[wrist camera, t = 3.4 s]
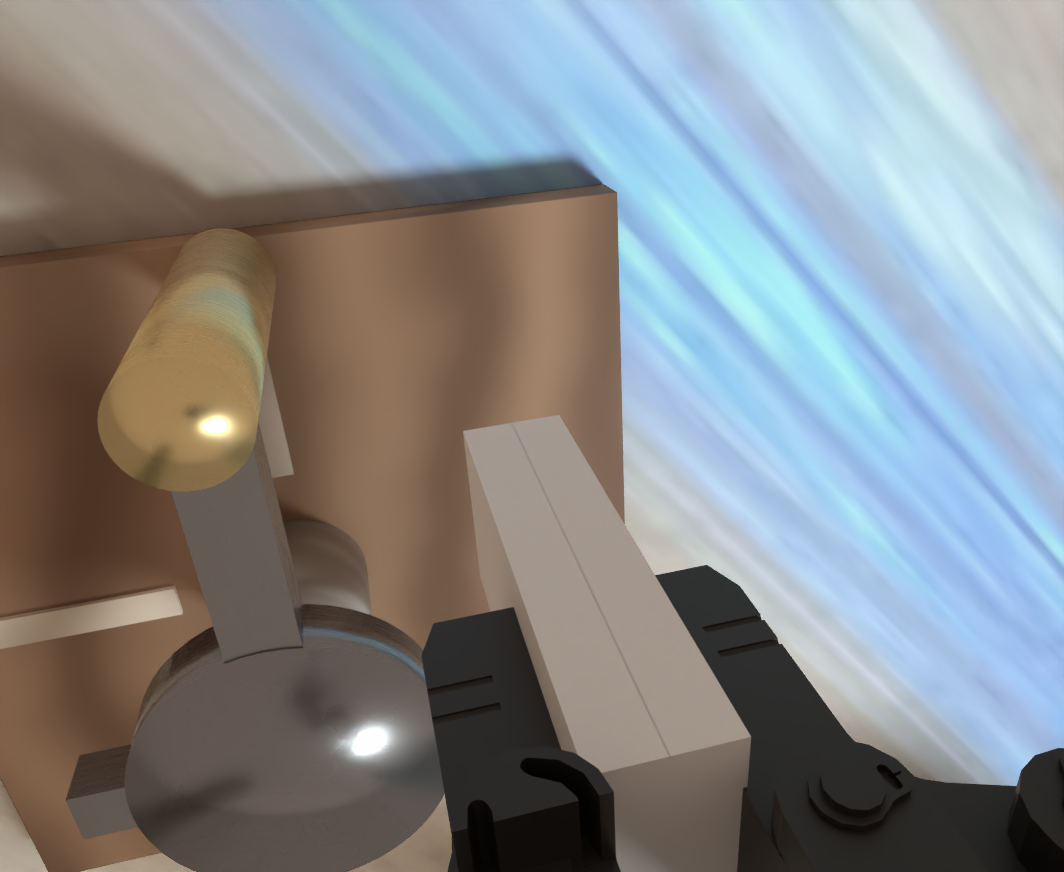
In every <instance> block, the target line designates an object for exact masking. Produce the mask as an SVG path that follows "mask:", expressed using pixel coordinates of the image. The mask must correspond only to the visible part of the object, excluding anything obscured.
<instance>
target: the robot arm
mask: <svg viewBox="0 0 1064 872" xmlns="http://www.w3.org/2000/svg"><path fill="white" fill-rule="evenodd" d="M463 436H464V444H465V452H466V461H467V469H468V478H469V486H470V494H471V503H472V511H473V519H474V528H475V536H476V545H477V553H478V561H479V570H480V577H481V581H482V584H483V587H484V591H485V594H486V597H487V601H488V604H489V608H490V611H491V612H486V613H481V614H477V615H472V616H467V617H462V618H457V619H452V620H447V621H442V622H437V623H433V626H432V628H431V631H430V634H429V636H428V639H427V642H426V644H425V647H424V650H423V652H422V655H421V657H422V663H423V669H424V675H425V680H426V686H427V692H428V698H429V704H430V710H431V716H432V722H433V728H434V734H435V740H436V746H437V751H438V757H439V763H440V769H441V775H442V781H443V786H444V792H445V798H446V804H447V810H448V816H449V821H450V827H451V833H452V855H451V860H450V864H449V868H448V872H1064V748H1057V749H1054V750H1051V751H1048V752H1044V753H1041V754H1038V755H1035V756H1034V757H1033V758H1032V759H1031V760H1030V762H1029V763H1028V764H1027V765H1026V766H1025V767H1024V768H1023V769H1022V770H1021V773H1020V777H1019V780H1018V784H1017V786H1000V785H980V784H961V783H945V782H938V781H931V780H924V779H920V778H917V777H914V776H913V775H912V774H911V773H910V772H909V771H908V770H907V769H906V768H905V767H904V766H903V765H902V764H901V763H900V762H899V761H897V760H896V759H895V758H893V757H891V756H889V755H887V754H885V753H883V752H881V751H879V750H878V749H876V748H874V747H872V746H870V745H866V744H862V743H857V742H855V741H854V740H853V739H852V738H851V737H850V736H849V735H848V734H847V733H846V731H845V730H844V729H843V727H842V726H841V725H840V723H839V722H838V720H837V719H836V718H835V716H834V715H833V714H832V712H831V711H830V709H829V708H828V707H827V705H826V704H825V703H824V701H823V700H822V698H821V697H820V696H819V694H818V693H817V692H816V690H815V689H814V687H813V686H812V685H811V683H810V682H809V681H808V679H807V678H806V676H805V675H804V674H803V672H802V671H801V670H800V668H799V667H798V665H797V664H796V663H795V661H794V660H793V659H792V657H791V656H790V654H789V653H788V652H787V650H786V649H785V648H784V646H783V645H782V644H779V643H778V640H777V637H776V635H775V634H774V633H773V631H772V630H771V628H770V627H769V626H768V624H767V623H766V622H765V620H761V617H760V613H759V612H758V611H757V609H756V608H755V606H754V605H753V604H752V602H751V601H750V600H749V598H748V597H747V595H746V594H745V593H744V591H743V590H742V589H741V587H740V586H739V585H737V584H736V583H734V582H732V581H731V580H729V579H728V578H726V577H725V576H723V575H722V574H720V573H719V572H717V571H715V570H714V569H712V568H711V567H709V566H708V565H704V566H699V567H694V568H690V569H685V570H680V571H675V572H670V573H665V574H660V575H654V573H653V571H652V570H651V568H650V566H649V565H648V563H647V561H646V560H645V558H644V556H643V555H642V553H641V551H640V550H639V548H638V546H637V545H636V543H635V541H634V539H633V538H632V536H631V534H630V533H629V531H628V529H627V528H626V526H625V524H624V523H623V521H622V519H621V518H620V516H619V514H618V513H617V511H616V509H615V508H614V506H613V504H612V503H611V501H610V499H609V498H608V496H607V494H606V493H605V491H604V489H603V487H602V486H601V484H600V482H599V481H598V479H597V477H596V476H595V474H594V472H593V471H592V469H591V467H590V466H589V464H588V462H587V461H586V459H585V457H584V456H583V454H582V452H581V451H580V449H579V447H578V446H577V444H576V442H575V441H574V439H573V437H572V435H571V434H570V432H569V430H568V429H567V427H566V425H565V424H564V422H563V420H562V419H561V417H560V415H556V416H550V417H544V418H538V419H532V420H526V421H520V422H514V423H508V424H502V425H496V426H490V427H484V428H478V429H472V430H466V431H463Z"/></svg>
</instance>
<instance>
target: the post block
mask: <svg viewBox="0 0 1064 872" xmlns="http://www.w3.org/2000/svg"><path fill="white" fill-rule="evenodd" d="M233 230H237V231H240V232H243V233H245V234H247V235H249V236H251V237H252V238H254V239H255V240H257V241H258V242H259V243H260V244H261V245H262V246H263V247H264V248H265V249H266V251H267V252H268V253H269V255H270V257H271V259H272V261H273V263H274V266H275V270H276V289H275V296H274V304H273V312H272V319H271V327H270V334H269V342H268V350H267V357H266V365H265V373H264V380H263V388H262V396H261V403H260V411H259V419H258V421H259V425H260V429H261V434H262V438H263V442H264V446H265V450H266V454H267V458H268V462H269V466H270V470H271V475H272V479H273V483H274V487H275V491H276V495H277V499H278V503H279V507H280V511H281V516H282V520H283V524H284V528H285V532H286V536H287V540H288V544H289V548H290V552H291V557H292V561H293V565H294V569H295V573H296V577H297V581H298V585H299V589H300V593H301V598H302V602H303V604H317V605H331V606H337V607H343V608H348V609H353V610H356V611H360V612H363V613H366V614H370V615H372V616H374V617H377V618H379V619H381V620H384V621H386V622H388V623H390V624H391V625H393V626H395V627H396V628H398V629H400V630H402V631H403V632H404V633H406V634H407V635H408V636H409V637H411V638H412V639H413V640H414V641H416V643H417V644H418V645H419V646H420V647H421V648H422V649H423V650H424V647H425V644H426V642H427V639H428V636H429V634H430V631H431V628H432V626H433V623H437V622H442V621H447V620H452V619H457V618H462V617H467V616H472V615H477V614H481V613H486V612H491V611H490V608H489V604H488V601H487V597H486V594H485V591H484V587H483V584H482V581H481V577H480V570H479V561H478V553H477V545H476V536H475V528H474V519H473V511H472V503H471V494H470V486H469V478H468V469H467V461H466V452H465V444H464V436H463V431H466V430H472V429H478V428H484V427H490V426H496V425H502V424H508V423H514V422H520V421H526V420H532V419H538V418H544V417H550V416H556V415H560V417H561V419H562V420H563V422H564V424H565V425H566V427H567V429H568V430H569V432H570V434H571V435H572V437H573V439H574V441H575V442H576V444H577V446H578V447H579V449H580V451H581V452H582V454H583V456H584V457H585V459H586V461H587V462H588V464H589V466H590V467H591V469H592V471H593V472H594V474H595V476H596V477H597V479H598V481H599V482H600V484H601V486H602V487H603V489H604V491H605V493H606V494H607V496H608V498H609V499H610V501H611V503H612V504H613V506H614V508H615V509H616V511H617V513H618V514H619V516H620V518H621V519H622V521H623V523H624V524H625V522H624V478H623V435H622V391H621V347H620V303H619V260H618V216H617V192H615V191H614V190H612V189H610V188H609V187H607V186H606V185H604V184H603V185H595V186H586V187H578V188H570V189H561V190H553V191H544V192H536V193H528V194H519V195H511V196H503V197H494V198H486V199H478V200H469V201H461V202H453V203H444V204H436V205H427V206H419V207H411V208H402V209H394V210H386V211H377V212H369V213H361V214H352V215H344V216H336V217H327V218H319V219H310V220H302V221H294V222H285V223H277V224H269V225H260V226H252V227H244V228H235V229H233ZM197 234H199V233H193V234H185V235H177V236H168V237H160V238H152V239H143V240H135V241H127V242H118V243H110V244H102V245H93V246H85V247H76V248H68V249H60V250H51V251H43V252H35V253H26V254H18V255H10V256H1V257H0V778H1V780H2V782H3V784H4V786H5V788H6V790H7V792H8V794H9V796H10V798H11V799H12V801H13V803H14V805H15V807H16V809H17V811H18V813H19V815H20V817H21V819H22V821H23V823H24V825H25V827H26V829H27V831H28V833H29V835H30V837H31V839H32V841H33V842H34V844H35V846H36V848H37V850H38V852H39V854H40V856H41V858H42V860H43V862H44V864H45V866H46V868H47V870H48V872H80V871H84V870H88V869H93V868H97V867H101V866H106V865H110V864H114V863H118V862H123V861H127V860H131V859H135V858H140V857H144V856H148V855H153V854H157V853H161V851H159V850H158V849H157V848H156V847H155V846H154V845H153V844H152V843H151V842H150V841H149V840H148V839H147V838H146V837H145V835H144V834H143V833H142V832H141V830H140V829H139V828H133V829H129V830H124V831H120V832H116V833H111V834H107V835H103V836H98V837H94V838H89V839H85V840H84V839H83V837H82V835H81V833H80V830H79V828H78V826H77V824H76V822H75V820H74V818H73V816H72V813H71V811H70V809H69V807H68V805H67V803H66V801H65V800H66V797H67V794H68V790H69V787H70V784H71V781H72V778H73V774H74V771H75V768H76V765H77V761H78V758H79V755H83V754H88V753H92V752H97V751H102V750H106V749H111V748H116V747H121V746H125V745H130V744H131V743H132V739H133V735H134V731H135V727H136V723H137V719H138V715H139V711H140V707H141V704H142V700H143V697H144V695H145V693H146V690H147V688H148V686H149V684H150V682H151V681H152V679H153V678H154V676H155V675H156V673H157V672H158V670H159V669H160V667H161V666H162V665H163V664H164V663H165V662H166V661H167V660H168V659H169V658H170V657H171V655H172V654H173V653H174V652H176V651H177V650H178V649H179V648H180V647H182V646H183V645H184V644H185V643H187V642H188V641H189V640H191V639H192V638H194V637H195V636H197V635H198V634H200V633H202V632H203V631H205V630H206V629H208V628H210V627H212V626H213V625H212V621H211V618H210V615H209V612H208V608H207V605H206V602H205V599H204V596H203V592H202V589H201V586H200V583H199V579H198V576H197V573H196V570H195V567H194V563H193V560H192V557H191V554H190V550H189V547H188V544H187V541H186V537H185V534H184V531H183V528H182V525H181V521H180V518H179V515H178V512H177V508H176V505H175V502H174V499H173V496H172V492H171V491H168V490H163V489H158V488H155V487H152V486H149V485H146V484H144V483H142V482H140V481H138V480H136V479H134V478H133V477H131V476H129V475H128V474H127V473H125V472H124V471H123V470H122V469H121V468H120V467H119V466H117V465H116V464H115V462H114V461H113V460H112V459H111V457H110V456H109V455H108V453H107V451H106V450H105V448H104V446H103V444H102V441H101V439H100V435H99V431H98V422H97V420H98V410H99V405H100V402H101V400H102V397H103V395H104V393H105V391H106V389H107V387H108V385H109V384H110V382H111V380H112V378H113V376H114V374H115V372H116V370H117V369H118V367H119V365H120V363H121V361H122V359H123V357H124V356H125V354H126V352H127V350H128V348H129V346H130V344H131V342H132V341H133V339H134V337H135V335H136V333H137V331H138V329H139V327H140V326H141V324H142V322H143V320H144V318H145V316H146V314H147V312H148V311H149V309H150V307H151V305H152V303H153V301H154V299H155V297H156V296H157V294H158V292H159V290H160V288H161V286H162V284H163V282H164V281H165V279H166V277H167V275H168V273H169V271H170V269H171V268H172V266H173V264H174V262H175V260H176V258H177V256H178V254H179V253H180V251H181V249H182V247H183V246H184V245H185V244H186V243H187V242H188V241H189V240H190V239H191V238H192V237H194V236H195V235H197Z"/></svg>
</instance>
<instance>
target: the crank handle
mask: <svg viewBox="0 0 1064 872" xmlns="http://www.w3.org/2000/svg"><path fill="white" fill-rule="evenodd" d="M275 289H276V270H275V266H274V263H273V261H272V259H271V257H270V255H269V253H268V252H267V251H266V249H265V248H264V247H263V246H262V245H261V244H260V243H259V242H258V241H257V240H255V239H254V238H252V237H251V236H249V235H247V234H245V233H243V232H240V231H237V230H233V229H227V228H216V229H210V230H206V231H203V232H201V233H199V234H197V235H195V236H194V237H192V238H191V239H190V240H189V241H188V242H187V243H186V244H185V245H184V246H183V247H182V249H181V251H180V253H179V254H178V256H177V258H176V260H175V262H174V264H173V266H172V268H171V269H170V271H169V273H168V275H167V277H166V279H165V281H164V282H163V284H162V286H161V288H160V290H159V292H158V294H157V296H156V297H155V299H154V301H153V303H152V305H151V307H150V309H149V311H148V312H147V314H146V316H145V318H144V320H143V322H142V324H141V326H140V327H139V329H138V331H137V333H136V335H135V337H134V339H133V341H132V342H131V344H130V346H129V348H128V350H127V352H126V354H125V356H124V357H123V359H122V361H121V363H120V365H119V367H118V369H117V370H116V372H115V374H114V376H113V378H112V380H111V382H110V384H109V385H108V387H107V389H106V391H105V393H104V395H103V397H102V400H101V402H100V405H99V410H98V420H97V422H98V431H99V435H100V439H101V441H102V444H103V446H104V448H105V450H106V451H107V453H108V455H109V456H110V457H111V459H112V460H113V461H114V462H115V464H116V465H117V466H119V467H120V468H121V469H122V470H123V471H124V472H125V473H127V474H128V475H129V476H131V477H133V478H134V479H136V480H138V481H140V482H142V483H144V484H146V485H149V486H152V487H155V488H158V489H163V490H168V491H171V492H172V496H173V499H174V502H175V505H176V508H177V512H178V515H179V518H180V521H181V525H182V528H183V531H184V534H185V537H186V541H187V544H188V547H189V550H190V554H191V557H192V560H193V563H194V567H195V570H196V573H197V576H198V579H199V583H200V586H201V589H202V592H203V596H204V599H205V602H206V605H207V608H208V612H209V615H210V618H211V621H212V625H213V626H212V627H210V628H208V629H206V630H205V631H203V632H202V633H200V634H198V635H197V636H195V637H194V638H192V639H191V640H189V641H188V642H187V643H185V644H184V645H183V646H182V647H180V648H179V649H178V650H177V651H176V652H174V653H173V654H172V655H171V657H170V658H169V659H168V660H167V661H166V662H165V663H164V664H163V665H162V666H161V667H160V669H159V670H158V672H157V673H156V675H155V676H154V678H153V679H152V681H151V682H150V684H149V686H148V688H147V690H146V693H145V695H144V697H143V700H142V704H141V707H140V711H139V715H138V719H137V723H136V727H135V731H134V735H133V739H132V743H131V744H130V745H125V746H121V747H116V748H111V749H106V750H102V751H97V752H92V753H88V754H83V755H79V758H78V761H77V765H76V768H75V771H74V774H73V778H72V781H71V784H70V787H69V790H68V794H67V797H66V800H65V801H66V803H67V805H68V807H69V809H70V811H71V813H72V816H73V818H74V820H75V822H76V824H77V826H78V828H79V830H80V833H81V835H82V837H83V839H84V840H85V839H89V838H94V837H98V836H103V835H107V834H111V833H116V832H120V831H124V830H129V829H133V828H139V829H140V830H141V832H142V833H143V834H144V835H145V837H146V838H147V839H148V840H149V841H150V842H151V843H152V844H153V845H154V846H155V847H156V848H157V849H158V850H159V851H161V852H162V853H163V854H165V855H166V856H168V857H169V858H171V859H172V860H174V861H175V862H177V863H179V864H181V865H183V866H185V867H187V868H189V869H191V870H194V871H196V872H347V871H350V870H352V869H355V868H357V867H360V866H362V865H365V864H367V863H369V862H371V861H373V860H375V859H377V858H379V857H381V856H382V855H384V854H386V853H387V852H389V851H390V850H392V849H394V848H395V847H397V846H398V845H399V844H401V843H402V842H403V841H405V840H406V839H407V838H409V837H410V836H411V835H412V834H413V833H414V832H415V831H416V830H417V829H418V828H419V827H421V826H422V825H423V823H424V822H425V821H426V820H427V819H428V818H429V816H430V815H431V814H432V813H433V811H434V810H435V808H436V807H437V805H438V804H439V802H440V801H441V799H442V797H443V795H444V793H445V792H444V786H443V781H442V775H441V769H440V763H439V757H438V751H437V746H436V740H435V734H434V728H433V722H432V716H431V710H430V704H429V698H428V692H427V686H426V680H425V675H424V669H423V663H422V657H421V655H422V652H423V649H422V648H421V647H420V646H419V645H418V644H417V643H416V641H414V640H413V639H412V638H411V637H409V636H408V635H407V634H406V633H404V632H403V631H402V630H400V629H398V628H396V627H395V626H393V625H391V624H390V623H388V622H386V621H384V620H381V619H379V618H377V617H374V616H372V615H370V614H366V613H363V612H360V611H356V610H353V609H348V608H343V607H337V606H331V605H317V604H303V602H302V598H301V593H300V589H299V585H298V581H297V577H296V573H295V569H294V565H293V561H292V557H291V552H290V548H289V544H288V540H287V536H286V532H285V528H284V524H283V520H282V516H281V511H280V507H279V503H278V499H277V495H276V491H275V487H274V483H273V479H272V475H271V470H270V466H269V462H268V458H267V454H266V450H265V446H264V442H263V438H262V434H261V429H260V425H259V421H258V419H259V411H260V403H261V396H262V388H263V380H264V373H265V365H266V357H267V350H268V342H269V334H270V327H271V319H272V312H273V304H274V296H275Z"/></svg>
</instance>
